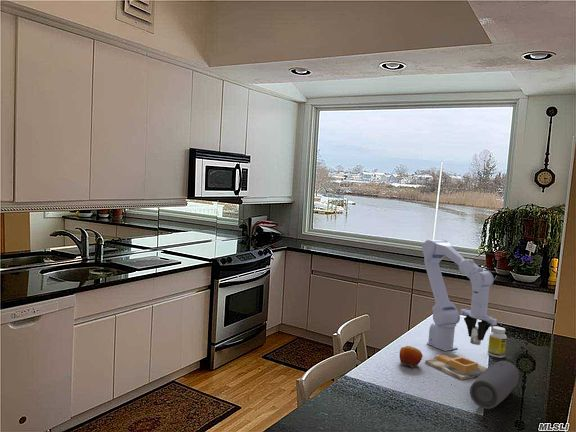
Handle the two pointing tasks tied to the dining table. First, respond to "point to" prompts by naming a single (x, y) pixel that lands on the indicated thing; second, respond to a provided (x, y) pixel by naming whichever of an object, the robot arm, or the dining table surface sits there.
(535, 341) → the dining table surface
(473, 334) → the pin
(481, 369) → the rosette board
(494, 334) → the pill bottle
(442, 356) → the bracket
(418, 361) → the fruit
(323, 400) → the dining table surface
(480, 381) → the bluetooth speaker
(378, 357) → the dining table surface
